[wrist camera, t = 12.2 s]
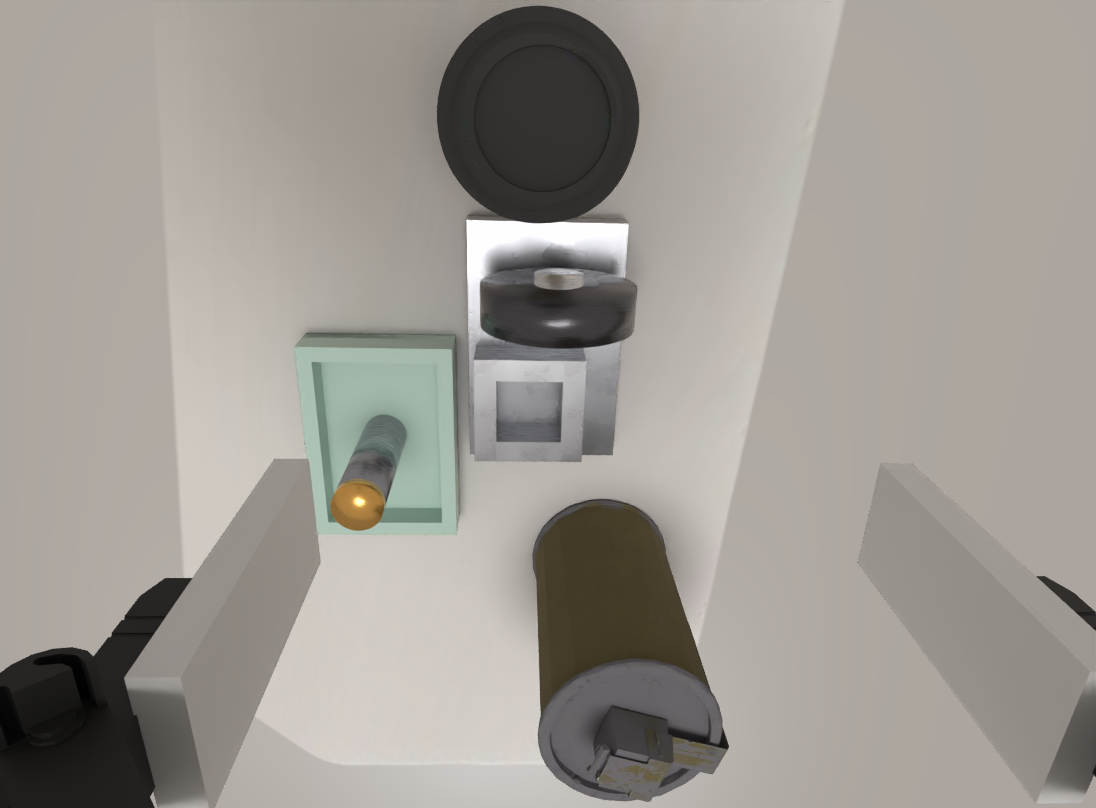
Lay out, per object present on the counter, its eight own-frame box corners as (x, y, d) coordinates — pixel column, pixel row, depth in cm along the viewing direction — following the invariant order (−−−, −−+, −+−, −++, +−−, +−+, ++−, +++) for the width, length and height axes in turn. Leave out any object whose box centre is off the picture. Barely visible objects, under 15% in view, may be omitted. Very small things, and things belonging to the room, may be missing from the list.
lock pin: (361, 414, 50) (327, 485, 40) (405, 414, 50) (381, 485, 41) (365, 453, 51) (332, 530, 42) (408, 453, 51) (385, 530, 42)
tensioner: (468, 215, 46) (454, 247, 36) (624, 219, 46) (654, 251, 36) (471, 441, 52) (460, 523, 42) (609, 442, 52) (631, 524, 42)
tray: (306, 332, 48) (293, 347, 46) (455, 335, 49) (451, 349, 46) (325, 512, 54) (315, 534, 51) (459, 512, 54) (456, 534, 51)
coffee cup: (509, 220, 46) (506, 270, 32) (429, 88, 43) (386, 81, 29) (633, 142, 44) (685, 160, 31) (559, 0, 41) (579, -53, 27)
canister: (514, 591, 57) (512, 823, 39) (559, 482, 54) (581, 681, 35) (639, 625, 59) (694, 862, 41) (691, 522, 55) (777, 731, 37)
